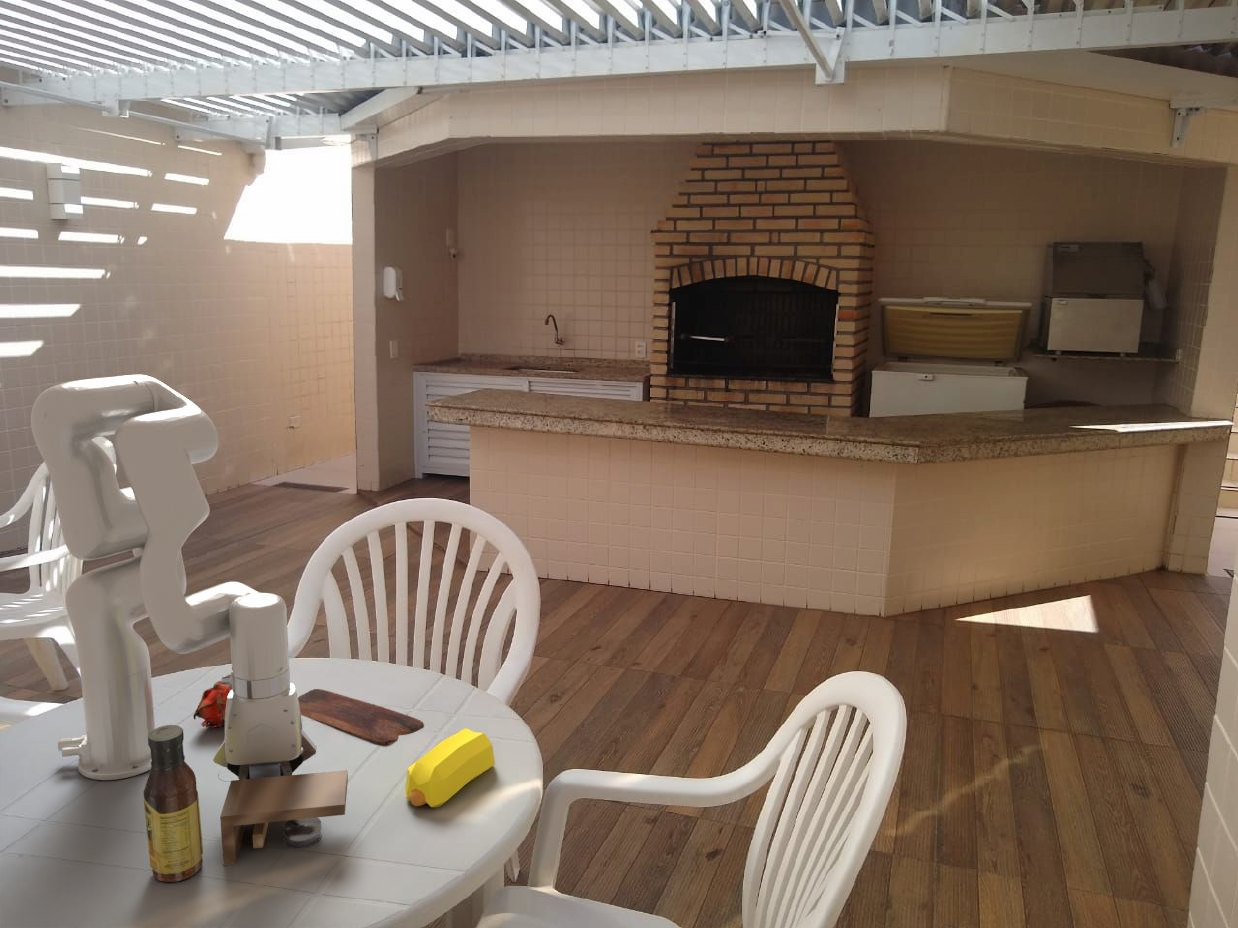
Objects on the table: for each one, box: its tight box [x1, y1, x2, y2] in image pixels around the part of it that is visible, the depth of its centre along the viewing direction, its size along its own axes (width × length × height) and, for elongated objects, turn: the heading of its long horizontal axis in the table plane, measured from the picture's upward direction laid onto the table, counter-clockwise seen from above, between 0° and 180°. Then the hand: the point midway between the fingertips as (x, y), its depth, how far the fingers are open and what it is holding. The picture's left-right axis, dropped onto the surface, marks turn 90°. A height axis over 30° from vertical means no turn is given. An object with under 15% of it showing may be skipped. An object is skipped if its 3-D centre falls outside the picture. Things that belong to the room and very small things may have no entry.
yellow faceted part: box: [405, 727, 496, 808], centre depth 147 cm, size 18×7×8 cm
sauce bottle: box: [142, 724, 204, 883], centre depth 123 cm, size 6×6×20 cm
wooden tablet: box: [298, 688, 424, 746], centre depth 169 cm, size 26×2×10 cm
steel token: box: [282, 817, 322, 849], centre depth 133 cm, size 5×5×2 cm
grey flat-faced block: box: [249, 762, 282, 849], centre depth 135 cm, size 4×13×7 cm, turn 13°
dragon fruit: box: [193, 680, 232, 729], centre depth 164 cm, size 8×8×12 cm
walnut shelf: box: [219, 769, 349, 866], centre depth 132 cm, size 16×9×7 cm, turn 103°
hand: (268, 798), depth 140 cm, fingers closed on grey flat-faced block, 4 cm apart
